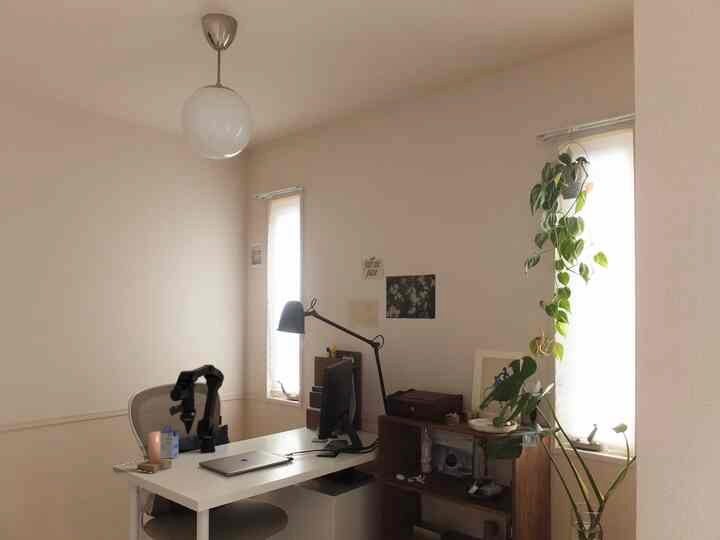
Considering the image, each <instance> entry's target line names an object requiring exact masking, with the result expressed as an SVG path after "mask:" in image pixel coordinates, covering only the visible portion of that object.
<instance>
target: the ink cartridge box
mask: <svg viewBox="0 0 720 540" xmlns="http://www.w3.org/2000/svg"><path fill="white" fill-rule="evenodd" d="M159 431H160V445H161V459H164V458H173V459H175V458H176V457H175V456H177V455H178V456H179V430H172V425H164V426H163V430H159ZM163 457H164V458H163ZM174 457H175V458H174Z"/></svg>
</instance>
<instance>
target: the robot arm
mask: <svg viewBox="0 0 720 540" xmlns="http://www.w3.org/2000/svg"><path fill="white" fill-rule="evenodd" d="M201 377H203V378H204V379H205V383H206V384H205V385H206V387H207V391H206V393H207V394H206V398H205V404H204V410H203V415H202V418H201V419H200V420H199V419H198V420H197V425H196V430H195V432H196V436H197V440H198V441H199V440H201V441H200V444H199V446H200V447H199V450H200V453H201V454H207V453H208V454H209V453H215V452H216V440H218V438H219V432H218V430H217V429H216V423H215V420H214V415H215V410H216V404H217V399H218V392H219V390H220V388H221V387H222V386H223V382H224V380H225V376H224V374H223V372H222V371H221V370H220V369H218V368H216V367H215V366H214V364H204V365H202V366H199V367H198V368H194V369H192V370H182V371H180V372H179V374H178V377H177V380H176V383H175V384H174V386H173V389H172V390H171V391H170V393H169V397H170V400H171V401H173V402H179V401H180V403H179V404H177V405H173V406H171V407H170V408H169V409H168V411H169V414H170V416H171V417H172V416H175V414H176V415H177V414H179V413H180V415H179V420H180V421H181V422H182V423H183V424H184V428H185V432H186V433H185V434H186V435H190V433H191V430H192V427H193V425H194V421H195V419H196V415H197V408H196V405H195V402H196V398H195V388H196V387H197V385H196V382H198V380H199V378H201Z"/></svg>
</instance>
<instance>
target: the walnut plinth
mask: <svg viewBox="0 0 720 540" xmlns="http://www.w3.org/2000/svg"><path fill="white" fill-rule="evenodd" d="M168 468H169V469H171V468H172V460H170V459H163V458H161V462H160V463H157V464H149V460H147V461H144V462H141V463H137V465H136V471H137V470H141V471H146V472H152V473H151V474H153V473H154V474H156V473H155V472H157V473H159V472H158V471H160V472H162V470H163V471H165V469H166V470H169V469H168Z"/></svg>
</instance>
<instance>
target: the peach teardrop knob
mask: <svg viewBox="0 0 720 540" xmlns="http://www.w3.org/2000/svg"><path fill="white" fill-rule="evenodd" d="M160 431H161V430H159V431H158V430H155V431H149V432H148V433H147V435H148V436H147V437H148V439H147V440H148V442H147V443H148V448H147V449H148V461H149V464H157V463H160V462H161V459H162V458H161V445H160Z"/></svg>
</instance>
